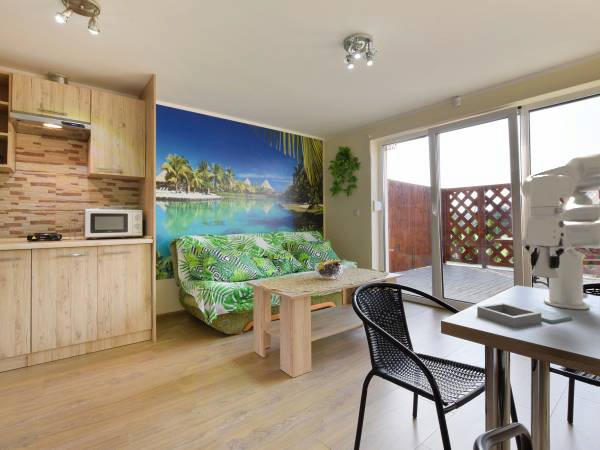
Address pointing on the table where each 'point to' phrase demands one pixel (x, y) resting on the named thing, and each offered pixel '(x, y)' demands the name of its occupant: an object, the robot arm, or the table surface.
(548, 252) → the flask
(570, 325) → the table surface
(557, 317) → the board
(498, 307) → the grey square tray
